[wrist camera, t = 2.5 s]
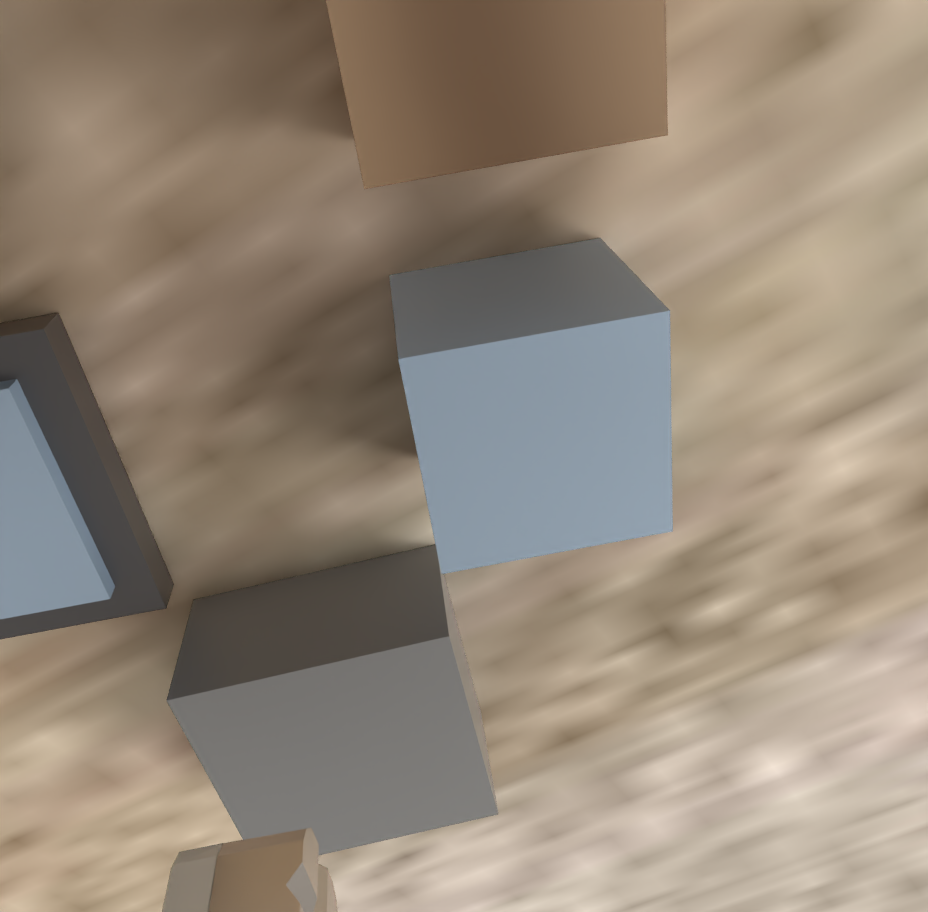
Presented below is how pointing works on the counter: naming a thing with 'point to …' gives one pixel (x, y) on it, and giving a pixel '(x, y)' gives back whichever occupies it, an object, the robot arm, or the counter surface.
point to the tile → (64, 495)
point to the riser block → (336, 704)
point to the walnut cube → (496, 80)
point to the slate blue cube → (537, 402)
